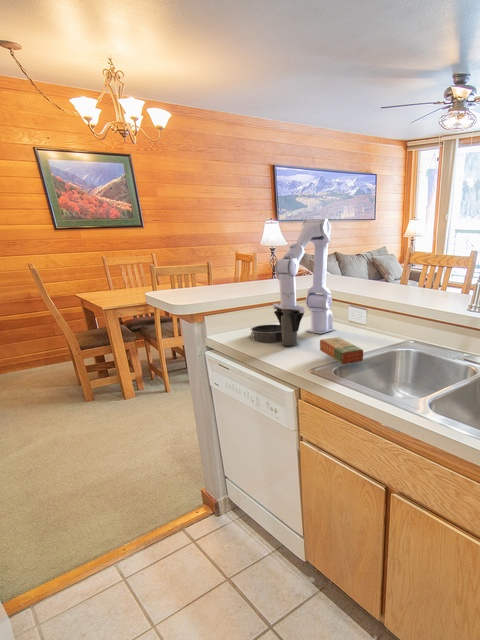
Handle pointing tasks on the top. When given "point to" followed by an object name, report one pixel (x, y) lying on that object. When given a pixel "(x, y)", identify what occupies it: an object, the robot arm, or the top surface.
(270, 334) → the pan
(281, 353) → the top surface
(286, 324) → the bottle
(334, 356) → the carton
